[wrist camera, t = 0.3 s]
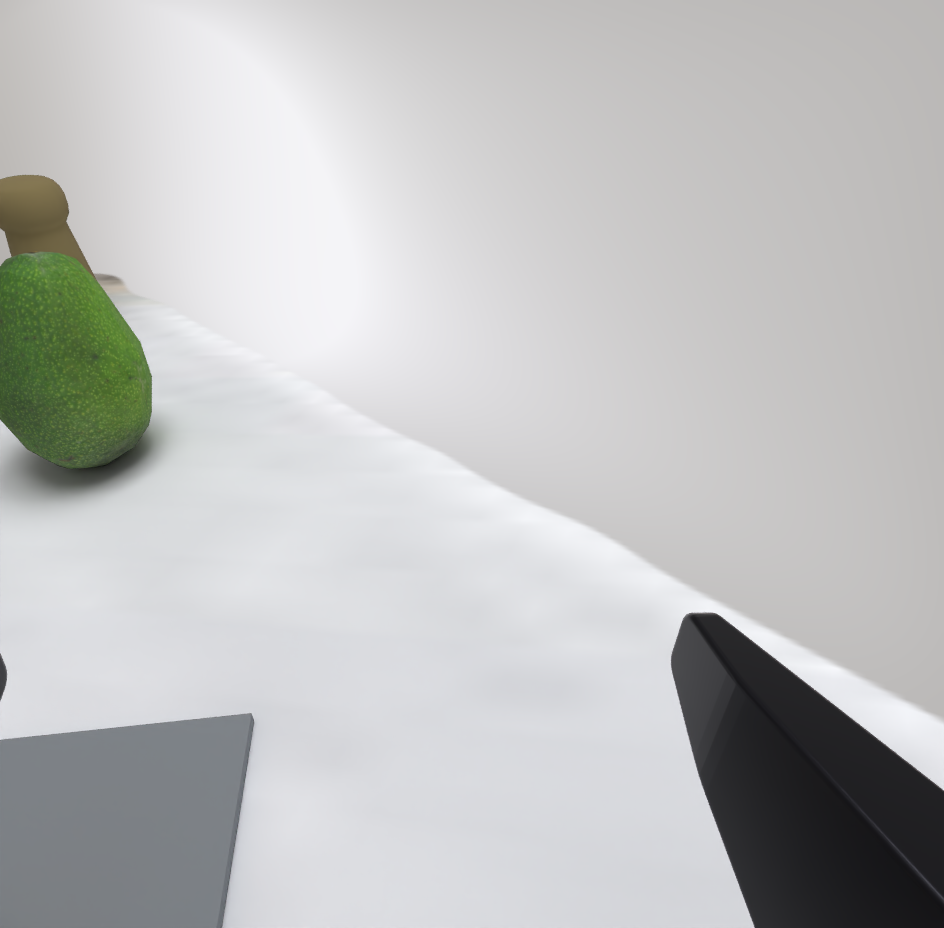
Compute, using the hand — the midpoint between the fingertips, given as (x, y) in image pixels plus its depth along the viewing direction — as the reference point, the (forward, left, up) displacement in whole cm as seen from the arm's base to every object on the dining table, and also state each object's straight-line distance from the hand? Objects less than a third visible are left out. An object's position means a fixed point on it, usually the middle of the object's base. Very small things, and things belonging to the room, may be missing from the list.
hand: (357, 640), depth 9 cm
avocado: (+29, +17, -16) cm, 37 cm away
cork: (+48, +25, -16) cm, 57 cm away
